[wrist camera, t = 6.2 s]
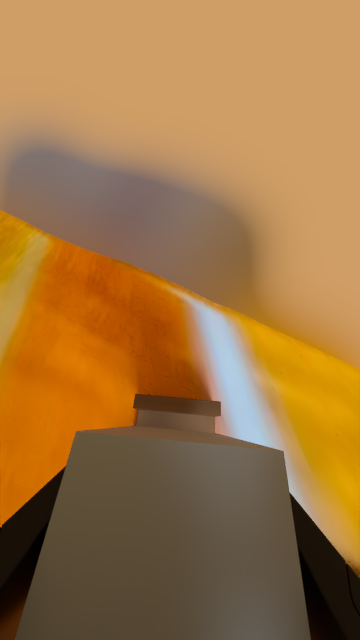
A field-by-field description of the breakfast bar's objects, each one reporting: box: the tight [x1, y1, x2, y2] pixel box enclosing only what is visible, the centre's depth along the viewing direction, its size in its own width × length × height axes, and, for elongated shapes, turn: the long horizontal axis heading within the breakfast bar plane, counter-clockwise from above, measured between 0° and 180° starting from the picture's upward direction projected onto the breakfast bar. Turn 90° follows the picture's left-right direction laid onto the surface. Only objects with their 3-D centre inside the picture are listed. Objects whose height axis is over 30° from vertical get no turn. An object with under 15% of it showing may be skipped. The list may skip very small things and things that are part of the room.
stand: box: [133, 394, 221, 433], centre depth 17 cm, size 9×8×4 cm
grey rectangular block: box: [15, 426, 311, 640], centre depth 9 cm, size 4×6×10 cm, turn 85°
